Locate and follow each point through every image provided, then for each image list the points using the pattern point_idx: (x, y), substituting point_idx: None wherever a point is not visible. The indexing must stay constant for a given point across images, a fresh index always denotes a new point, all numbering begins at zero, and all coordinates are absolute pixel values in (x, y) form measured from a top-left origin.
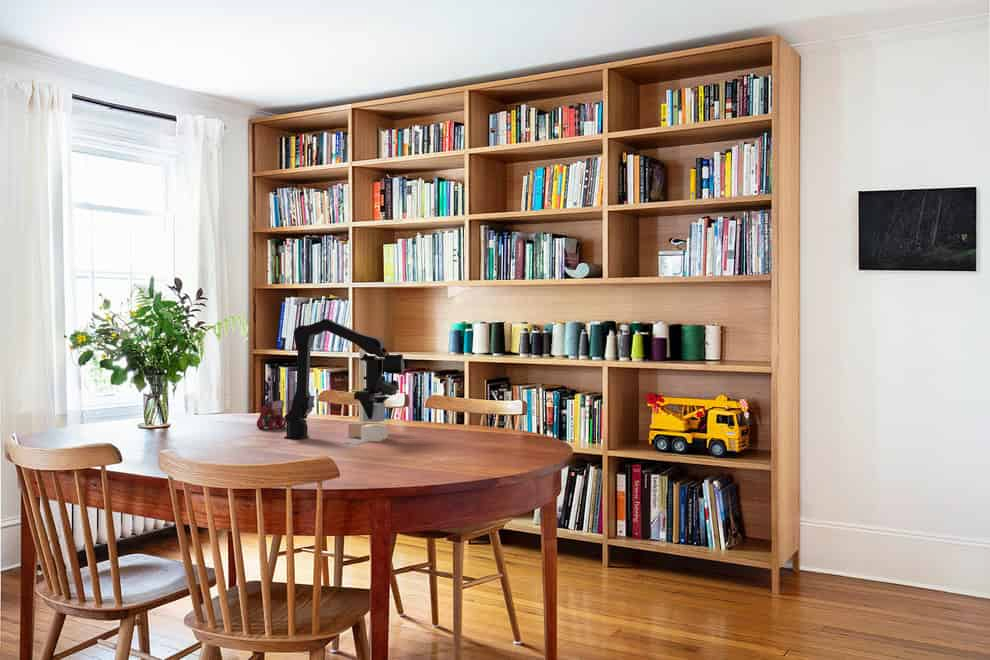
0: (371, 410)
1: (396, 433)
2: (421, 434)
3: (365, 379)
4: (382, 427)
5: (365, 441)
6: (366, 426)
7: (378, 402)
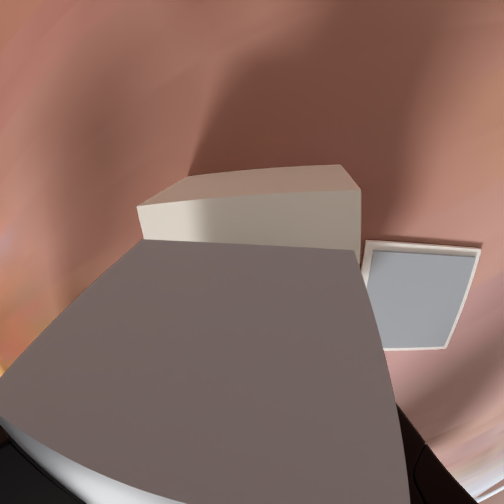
0: (421, 439)
1: (34, 220)
2: (10, 89)
3: None
4: (275, 190)
5: (399, 250)
6: None
7: (43, 477)
